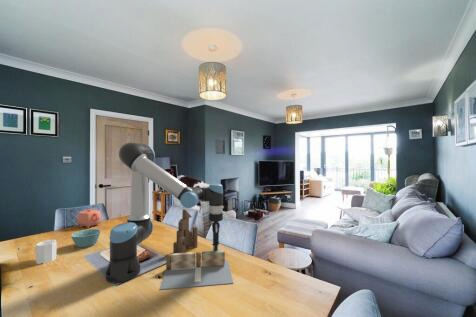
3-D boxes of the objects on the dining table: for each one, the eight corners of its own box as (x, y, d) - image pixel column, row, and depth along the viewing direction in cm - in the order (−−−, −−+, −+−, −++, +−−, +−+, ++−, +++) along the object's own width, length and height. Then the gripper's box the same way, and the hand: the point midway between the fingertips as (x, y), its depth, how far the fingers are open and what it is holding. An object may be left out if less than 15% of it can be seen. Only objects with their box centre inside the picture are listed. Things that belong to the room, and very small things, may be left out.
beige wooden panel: (165, 270, 106) (165, 255, 106) (166, 268, 109) (166, 253, 109) (200, 268, 109) (200, 253, 109) (200, 266, 111) (200, 251, 111)
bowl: (65, 247, 133) (65, 234, 134) (90, 239, 148) (90, 227, 148) (81, 252, 128) (81, 238, 128) (106, 242, 142) (106, 230, 142)
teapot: (71, 226, 176) (72, 209, 176) (87, 222, 188) (87, 206, 188) (90, 229, 168) (90, 211, 169) (105, 225, 180) (105, 208, 181)
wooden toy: (181, 256, 123) (181, 213, 123) (173, 253, 126) (173, 211, 126) (198, 246, 137) (198, 207, 137) (190, 244, 140) (190, 206, 140)
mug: (60, 257, 120) (60, 240, 120) (42, 265, 111) (42, 246, 112) (44, 255, 123) (44, 238, 123) (26, 262, 115) (26, 244, 115)
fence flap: (201, 267, 109) (201, 253, 109) (201, 264, 111) (201, 251, 111) (224, 265, 111) (224, 252, 111) (224, 263, 113) (224, 250, 113)
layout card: (159, 290, 91) (159, 289, 91) (168, 264, 112) (168, 264, 112) (233, 283, 96) (233, 282, 96) (227, 260, 117) (227, 260, 117)
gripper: (224, 215, 109) (223, 261, 109) (221, 209, 121) (221, 250, 121) (209, 216, 107) (208, 262, 107) (208, 210, 120) (208, 251, 120)
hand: (215, 256), depth 114 cm, fingers closed
